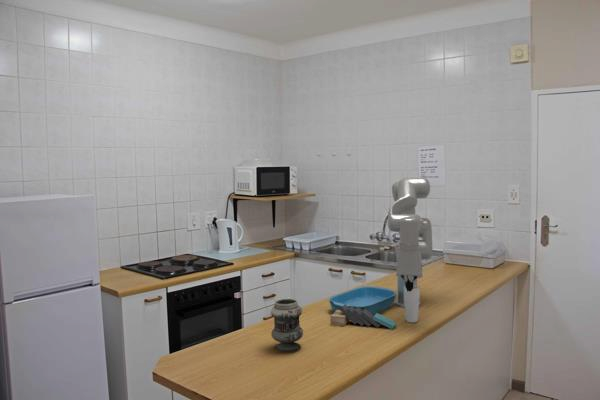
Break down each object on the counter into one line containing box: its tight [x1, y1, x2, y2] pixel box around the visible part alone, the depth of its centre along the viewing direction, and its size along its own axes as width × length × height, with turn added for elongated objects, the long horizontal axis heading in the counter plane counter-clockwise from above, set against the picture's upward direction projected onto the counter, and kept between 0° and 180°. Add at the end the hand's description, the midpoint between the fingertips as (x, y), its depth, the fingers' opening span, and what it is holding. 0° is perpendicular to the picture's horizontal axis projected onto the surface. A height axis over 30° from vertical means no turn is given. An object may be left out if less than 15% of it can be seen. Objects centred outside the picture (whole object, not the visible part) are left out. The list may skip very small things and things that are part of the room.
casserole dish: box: [328, 285, 397, 315], centre depth 233 cm, size 37×22×7 cm, turn 137°
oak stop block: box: [330, 310, 351, 327], centre depth 214 cm, size 10×6×4 cm, turn 158°
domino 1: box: [340, 304, 358, 325], centre depth 213 cm, size 2×5×9 cm
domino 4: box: [361, 309, 381, 329], centre depth 209 cm, size 2×5×9 cm
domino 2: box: [346, 306, 365, 327], centre depth 212 cm, size 2×5×9 cm
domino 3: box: [352, 307, 373, 328], centre depth 211 cm, size 2×5×9 cm
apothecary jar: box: [270, 298, 304, 354], centre depth 185 cm, size 12×12×18 cm
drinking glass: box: [404, 285, 421, 323], centre depth 214 cm, size 7×7×15 cm
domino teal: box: [373, 312, 397, 330], centre depth 207 cm, size 2×5×9 cm
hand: (409, 290), depth 204 cm, fingers closed
